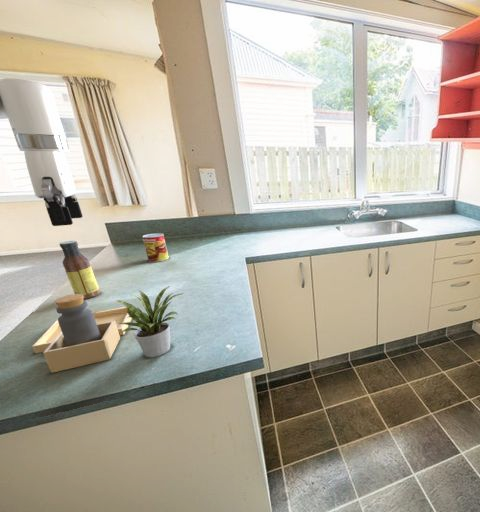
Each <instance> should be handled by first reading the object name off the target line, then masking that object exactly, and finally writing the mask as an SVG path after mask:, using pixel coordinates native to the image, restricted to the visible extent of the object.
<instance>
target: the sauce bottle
mask: <svg viewBox="0 0 480 512" xmlns="http://www.w3.org/2000/svg"><path fill="white" fill-rule="evenodd" d="M59 247H60V248H61V250H62V252H63V256H64V258H63V260H62V266H63V268H64V270H65V274H66V276H67V278H68V281H69V283H70V287H71V288H72V291H73V294H83V296H84V300H85V299H91V298H94V297H97V296H99V295H100V293H101V290H100V287H99V284H98V281H97V279H96V277H95V274H94V270H93V269H92V266H91V264H90V261H89V259H88V258H87V257H85V255H84V254H82V253H81V251H80V249H79V244H78V242H77V240H67V241H62V242H60V243H59Z"/></svg>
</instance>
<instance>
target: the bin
mask: <svg viewBox="0 0 480 512" xmlns="http://www.w3.org/2000/svg"><path fill="white" fill-rule="evenodd" d="M97 327H98V330H99V333H100V336H101V340H97V341H92V342H88V343H83V344H78V345H73V346H68V347H67V344H66V341H65V339H64V336H63V333H62V331H61V332H60V334H59V335H58V336H57V337H56V338H55V340H54V341H53V342H52V343H51V344H50V345H49V347H48V348H47V349H46V350H45V351H44V352H42V354H43V357H44V359H45V361H46V363H47V366H48V368H49V371H50V373H51V374H53V373H58V372H61V371H65V370H70V369H73V368H79V367H83V366H87V365H91V364H96V363H100V362H104V361H109V360H111V358H112V357H113V356H112V355H113V354H114V352H115V350H116V348H117V346H118V344H119V342H120V340H121V336H120V335H119V332H118V329H117V325H116V322H115V321H110V322H105V323H100V324H97Z"/></svg>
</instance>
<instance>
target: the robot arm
mask: <svg viewBox="0 0 480 512" xmlns="http://www.w3.org/2000/svg"><path fill="white" fill-rule="evenodd" d="M60 117H61V116H60V114H59V111H58V107H57V104H56V101H55V97H54V95H53V92H52V90H51V89H50V88H49V87H48V86H47V85H46V84H44V83H42V82H38V81H33V80H30V79H29V80H28V79H20V78H10V77H9V78H8V77H7V78H0V120H4V119H8V122H9V126H10V128H11V131H12V133H13V136H14V139H15V142H16V144H17V147H18V150H19V152H24V153H23V154H24V158H25V164H26V168H27V171H28V175H29V178H30V181H31V182H30V183H31V185H32V188H33V189H32V190H33V192H34V195H35V197H36V198H38V199H43V202H44V206H45V208H46V212H47V215H48V217H49V220H50V223H51V226H53V227H63V226H72V225H73V223H74V221H73V219H82V218H83V213H82V209H81V206H80V203H79V201H78V198H77V195H76V193H77V188H76V185H75V180H74V178H73V174H72V171H71V168H70V166H69V162H68V159H67V157H66V155H65V154H66V153H71V150H70V147H69V144H68V140H67V138H66V137H67V136H66V134H65V131H64V127H63V124H62V121H61V118H60Z"/></svg>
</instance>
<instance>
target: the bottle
mask: <svg viewBox="0 0 480 512" xmlns="http://www.w3.org/2000/svg"><path fill="white" fill-rule="evenodd" d="M54 303H55V304H56V306H57V307H56V308H55V310H56V313H57V314H60V316H59V317H58V318H57V320H58V323H59V325H60V328H61V331H62V333H63V336H64V339H65V341H66V344H67V347H68V346H73V345H78V344H83V343H88V342H92V341H97V340H101V336H100V333H99V330H98V327H97V324H96V321H95V318H94V315H93V313H94V312H93V310H92V309H89V308H87V307H89V304H88V301H86V300H85V299H84V296H83V294H75V293H73V294H68V295H64V296H61V297H59V298H56V299H55V300H54Z"/></svg>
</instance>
